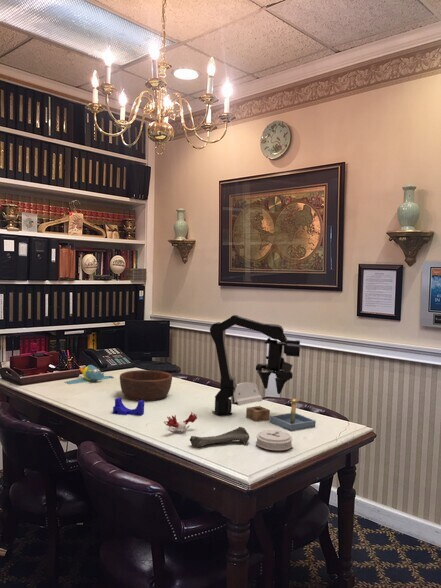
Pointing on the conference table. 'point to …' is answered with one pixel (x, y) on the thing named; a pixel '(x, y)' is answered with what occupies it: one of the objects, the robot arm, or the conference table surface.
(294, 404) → the brass pin
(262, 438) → the lid
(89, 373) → the blue toy parrot
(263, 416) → the pin block
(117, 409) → the cable clip
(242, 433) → the bone
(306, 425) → the tray
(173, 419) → the figurine
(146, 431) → the conference table surface
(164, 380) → the wooden bowl
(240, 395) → the hinge
